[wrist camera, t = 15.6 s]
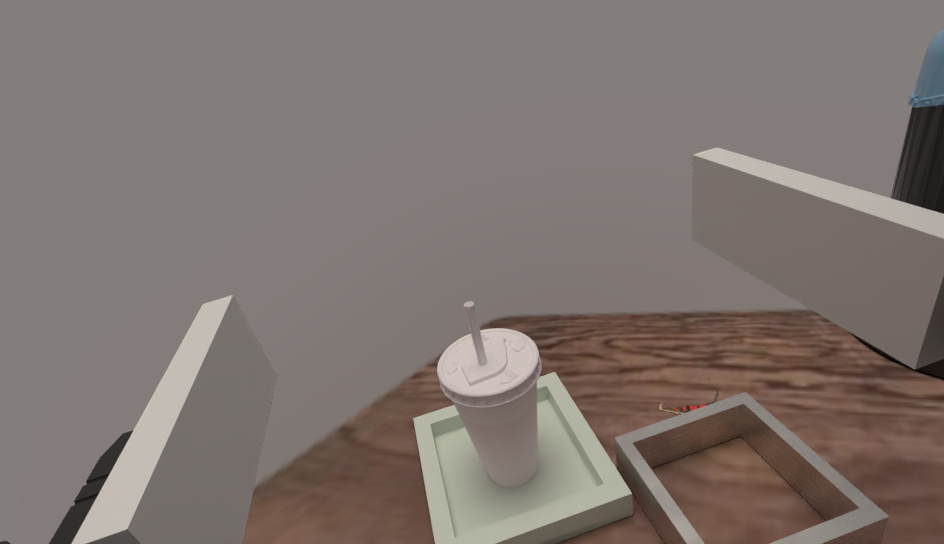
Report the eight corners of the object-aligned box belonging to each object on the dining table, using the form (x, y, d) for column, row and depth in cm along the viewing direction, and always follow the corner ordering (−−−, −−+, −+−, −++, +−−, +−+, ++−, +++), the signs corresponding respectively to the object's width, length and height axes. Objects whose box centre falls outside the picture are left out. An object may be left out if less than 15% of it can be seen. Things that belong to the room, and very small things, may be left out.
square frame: (742, 423, 33) (745, 391, 32) (877, 552, 25) (889, 516, 23) (617, 468, 32) (614, 437, 31) (713, 619, 24) (715, 585, 22)
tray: (557, 390, 40) (554, 372, 39) (633, 514, 29) (631, 493, 28) (419, 436, 38) (413, 418, 37) (446, 584, 28) (438, 564, 27)
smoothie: (451, 490, 32) (396, 325, 26) (490, 421, 37) (451, 267, 31) (539, 519, 29) (502, 340, 23) (569, 440, 34) (545, 273, 28)
